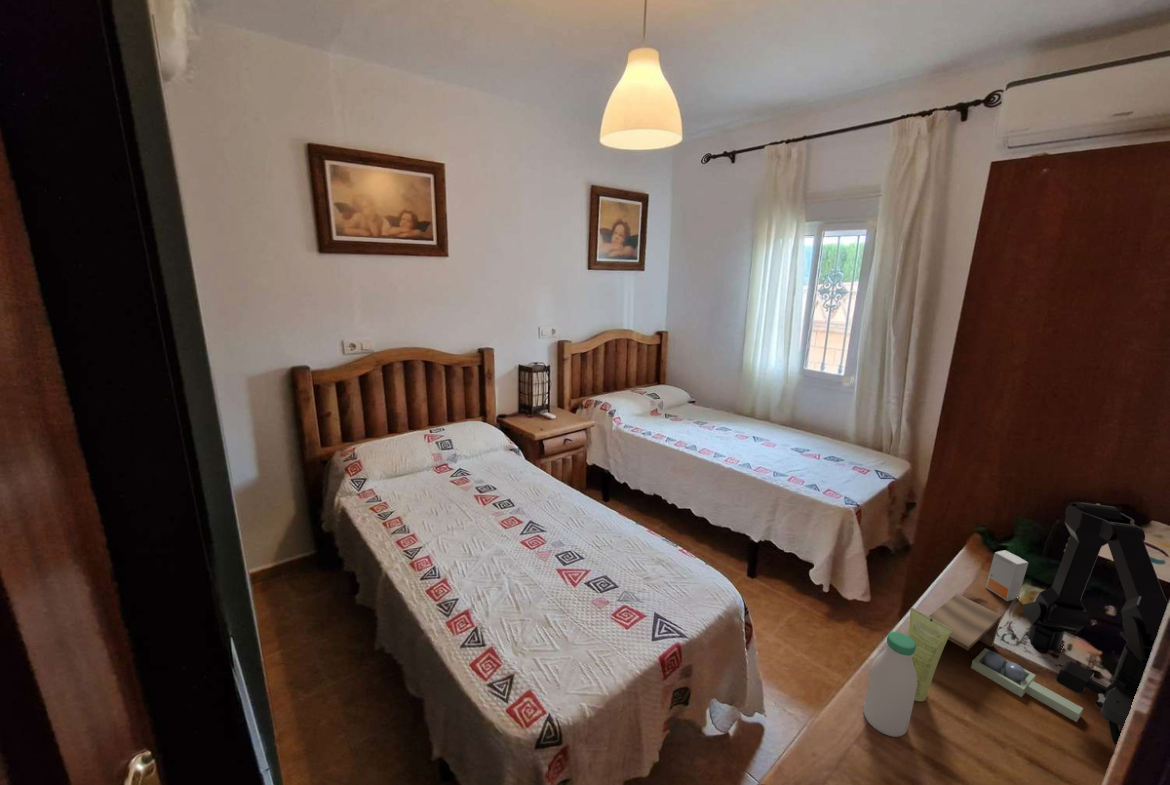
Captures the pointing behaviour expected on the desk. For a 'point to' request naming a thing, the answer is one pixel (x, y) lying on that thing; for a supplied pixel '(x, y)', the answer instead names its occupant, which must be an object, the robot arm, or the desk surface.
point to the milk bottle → (892, 687)
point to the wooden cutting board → (968, 621)
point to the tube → (926, 648)
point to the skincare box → (1006, 575)
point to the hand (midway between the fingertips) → (1115, 739)
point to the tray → (1028, 688)
